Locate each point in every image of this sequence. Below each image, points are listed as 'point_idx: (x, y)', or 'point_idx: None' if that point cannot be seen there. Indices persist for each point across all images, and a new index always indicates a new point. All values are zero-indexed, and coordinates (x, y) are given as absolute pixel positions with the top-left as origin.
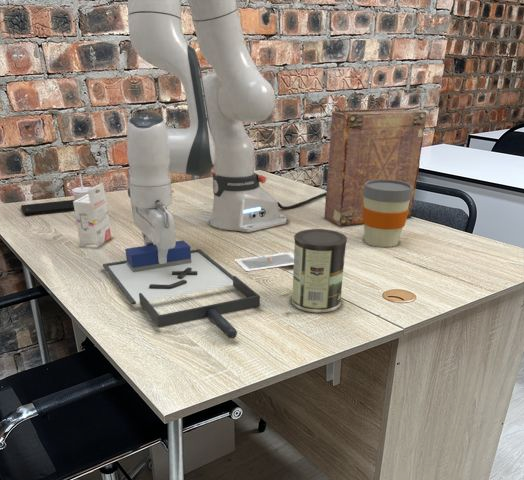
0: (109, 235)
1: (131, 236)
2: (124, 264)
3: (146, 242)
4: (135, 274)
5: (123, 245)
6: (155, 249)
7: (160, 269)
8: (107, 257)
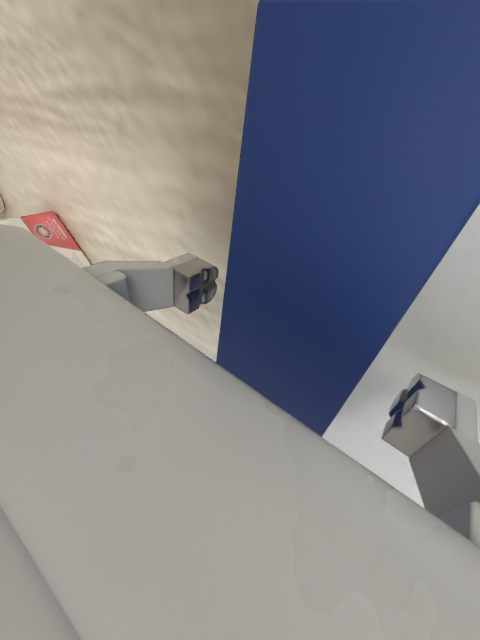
0: (48, 220)
1: (39, 144)
2: None
3: (173, 301)
4: (351, 433)
5: (95, 218)
6: (301, 380)
7: (402, 350)
8: (157, 313)
